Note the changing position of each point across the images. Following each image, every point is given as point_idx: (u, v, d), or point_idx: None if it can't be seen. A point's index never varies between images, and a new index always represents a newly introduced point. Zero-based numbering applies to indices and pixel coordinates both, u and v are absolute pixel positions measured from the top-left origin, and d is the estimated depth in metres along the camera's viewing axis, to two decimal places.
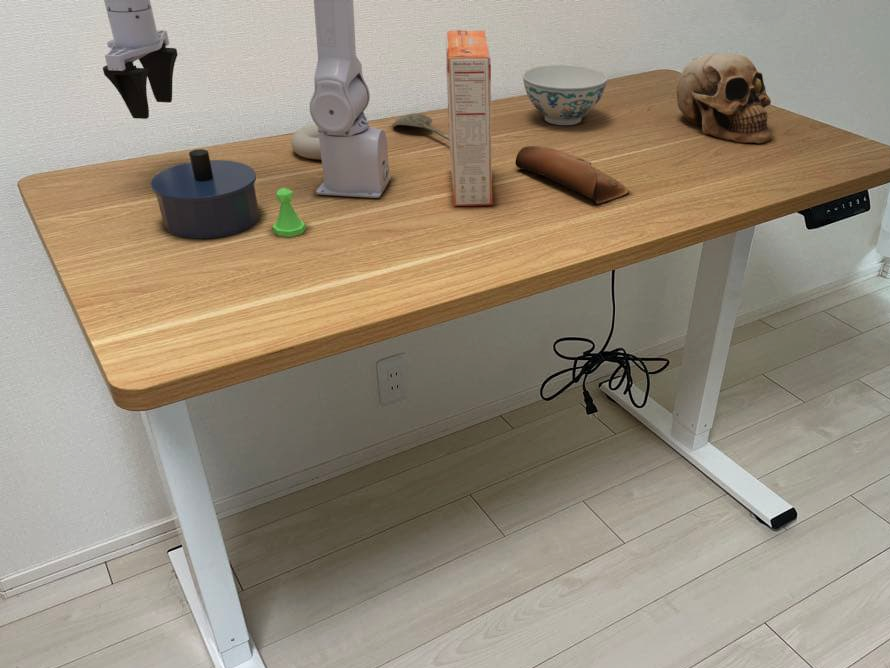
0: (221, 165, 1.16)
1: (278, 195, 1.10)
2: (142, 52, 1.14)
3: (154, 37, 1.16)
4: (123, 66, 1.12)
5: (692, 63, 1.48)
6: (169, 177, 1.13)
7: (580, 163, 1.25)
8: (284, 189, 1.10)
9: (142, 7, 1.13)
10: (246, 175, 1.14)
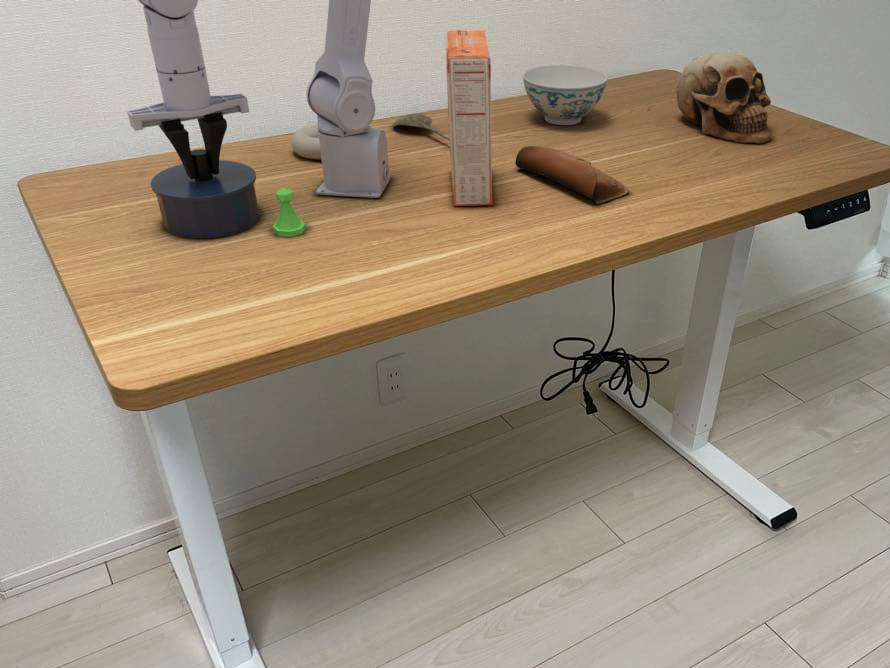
0: (221, 165, 1.16)
1: (278, 195, 1.10)
2: (169, 116, 1.04)
3: (191, 103, 1.04)
4: (138, 126, 1.04)
5: (692, 63, 1.48)
6: (169, 177, 1.13)
7: (580, 163, 1.25)
8: (284, 189, 1.10)
9: (204, 64, 1.05)
10: (246, 175, 1.14)
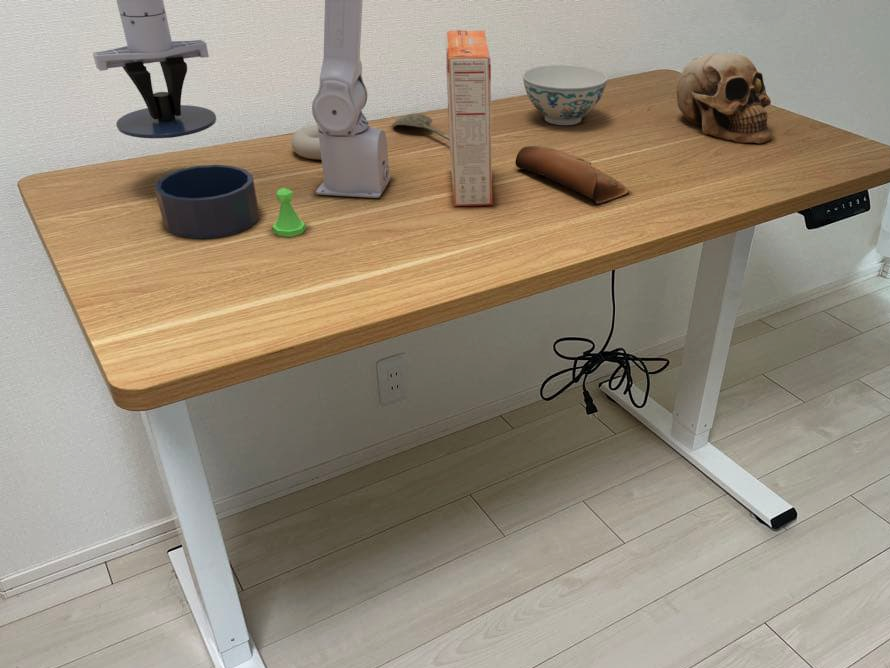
0: (184, 109, 1.24)
1: (278, 195, 1.10)
2: (131, 57, 1.12)
3: (152, 45, 1.12)
4: (102, 66, 1.12)
5: (692, 63, 1.48)
6: (134, 118, 1.20)
7: (580, 163, 1.25)
8: (284, 189, 1.10)
9: (158, 11, 1.11)
10: (206, 117, 1.22)
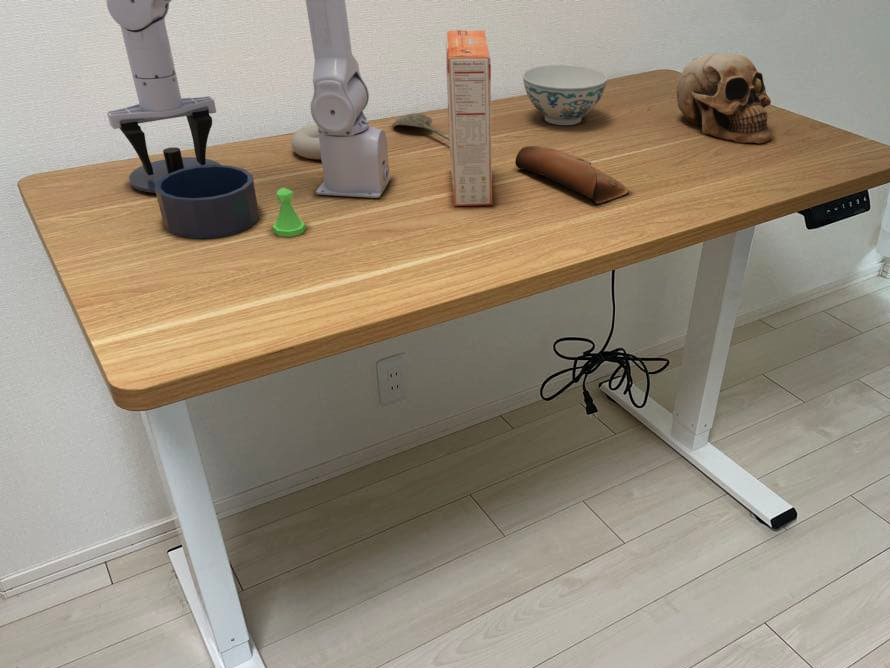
0: (193, 162, 1.30)
1: (278, 195, 1.10)
2: (143, 116, 1.18)
3: (163, 105, 1.18)
4: (116, 125, 1.18)
5: (692, 63, 1.48)
6: None
7: (580, 163, 1.25)
8: (284, 189, 1.10)
9: (168, 73, 1.17)
10: None
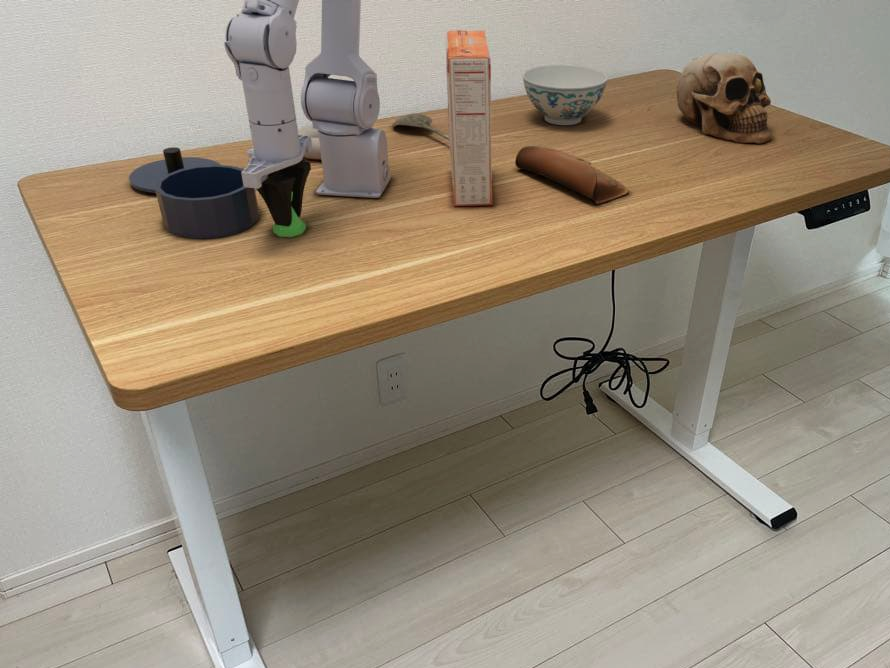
0: (193, 162, 1.30)
1: None
2: (281, 167, 1.05)
3: (295, 150, 1.06)
4: (259, 184, 1.03)
5: (692, 63, 1.48)
6: (146, 172, 1.27)
7: (580, 163, 1.25)
8: None
9: None
10: None
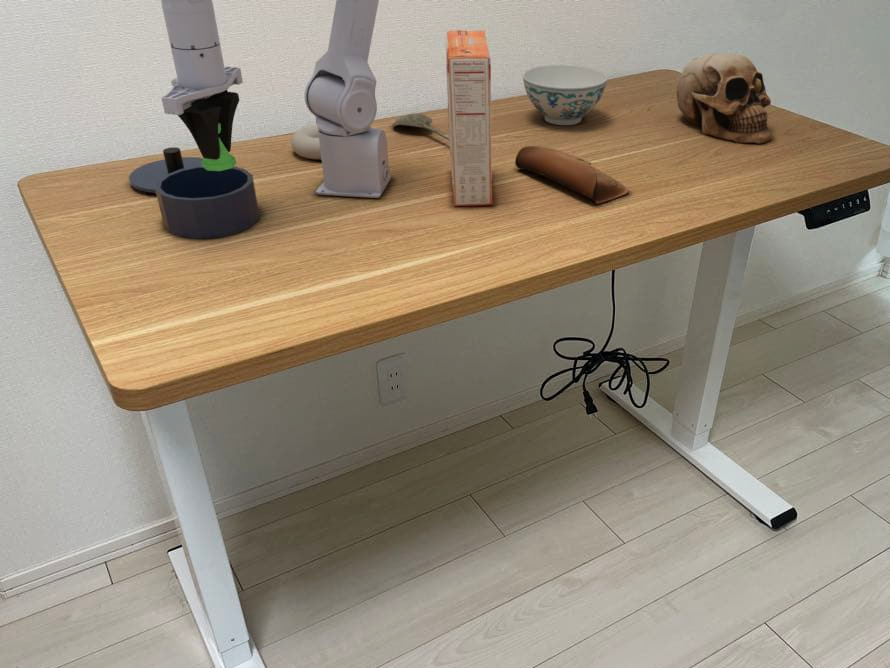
0: (193, 162, 1.30)
1: None
2: (204, 94, 1.02)
3: (220, 77, 1.03)
4: (180, 110, 1.00)
5: (692, 63, 1.48)
6: (146, 172, 1.27)
7: (580, 163, 1.25)
8: None
9: None
10: None
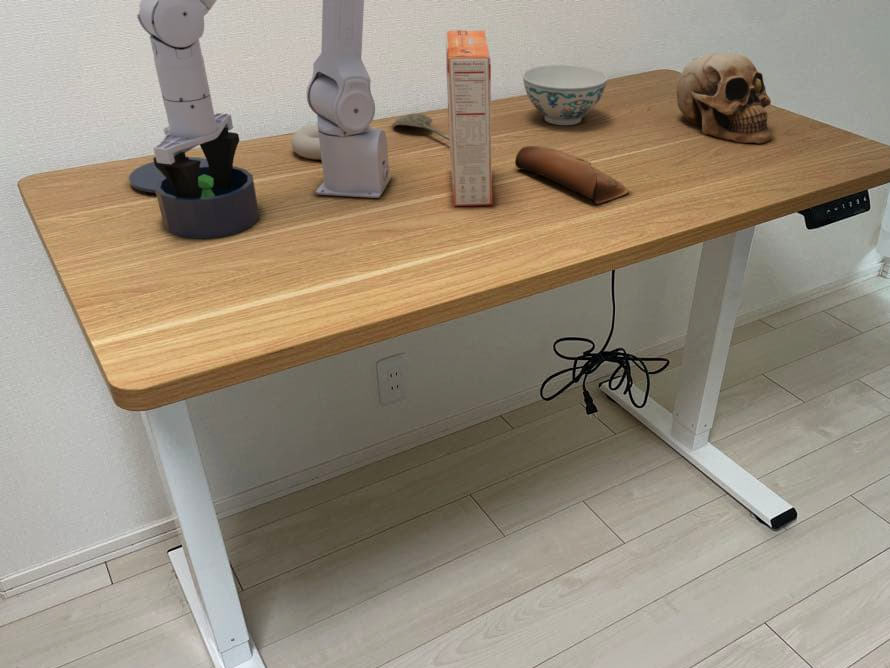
0: None
1: (198, 181, 1.12)
2: (195, 143, 1.06)
3: (210, 126, 1.08)
4: (172, 159, 1.04)
5: (692, 63, 1.48)
6: (146, 172, 1.27)
7: (580, 163, 1.25)
8: (204, 175, 1.12)
9: (209, 91, 1.07)
10: None
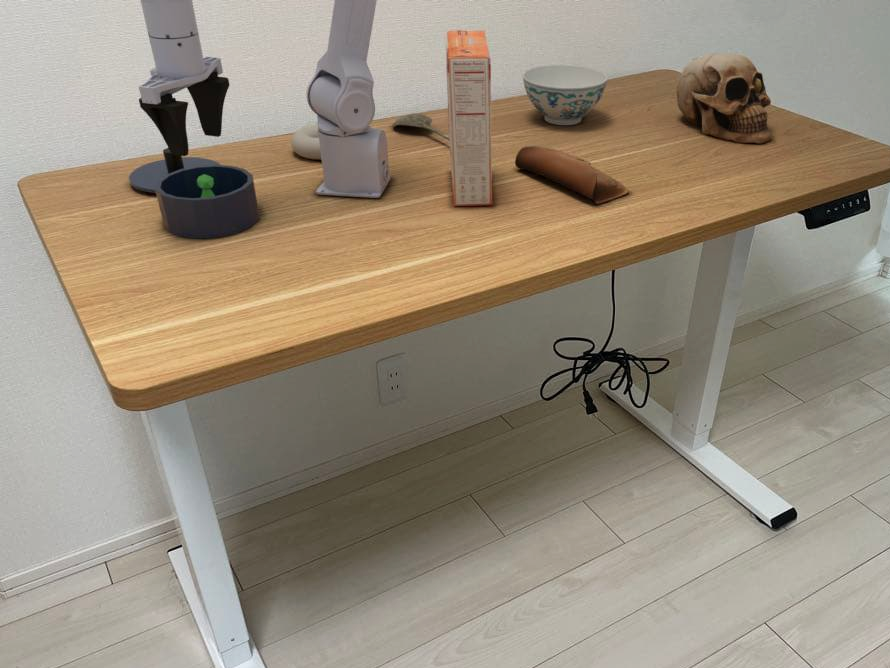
0: (193, 162, 1.30)
1: (198, 181, 1.12)
2: (182, 84, 1.02)
3: (198, 67, 1.03)
4: (158, 99, 1.00)
5: (692, 63, 1.48)
6: (146, 172, 1.27)
7: (580, 163, 1.25)
8: (204, 175, 1.12)
9: (197, 29, 1.02)
10: None
